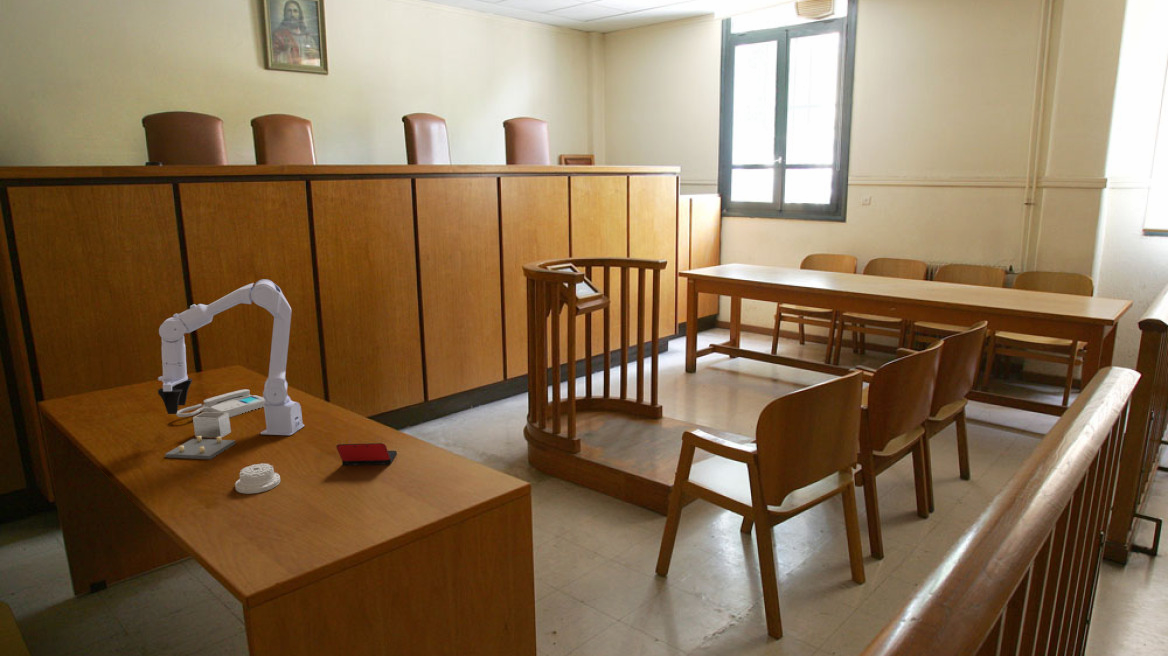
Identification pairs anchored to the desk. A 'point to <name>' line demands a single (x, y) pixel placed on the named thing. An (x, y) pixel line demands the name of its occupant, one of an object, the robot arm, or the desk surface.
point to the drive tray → (200, 448)
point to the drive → (211, 424)
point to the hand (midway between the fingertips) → (176, 409)
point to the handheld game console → (365, 454)
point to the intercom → (227, 404)
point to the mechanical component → (257, 479)
